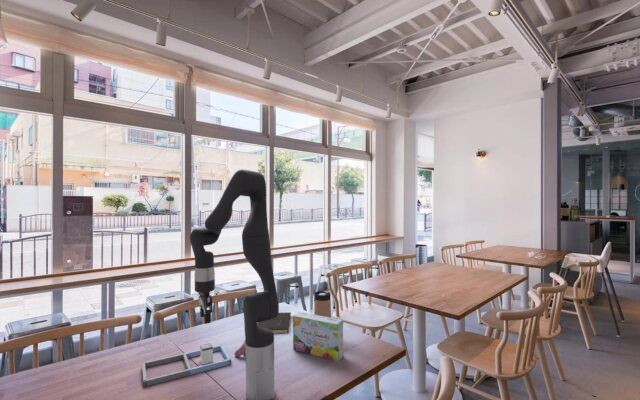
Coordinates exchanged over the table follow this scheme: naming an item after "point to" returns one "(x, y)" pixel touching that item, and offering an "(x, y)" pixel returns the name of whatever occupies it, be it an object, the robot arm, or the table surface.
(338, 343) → the snack box
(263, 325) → the hardcover book
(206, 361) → the grey rectangular block
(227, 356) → the two-cell open frame
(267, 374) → the robot arm
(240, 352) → the video game controller
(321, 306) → the travel mug
